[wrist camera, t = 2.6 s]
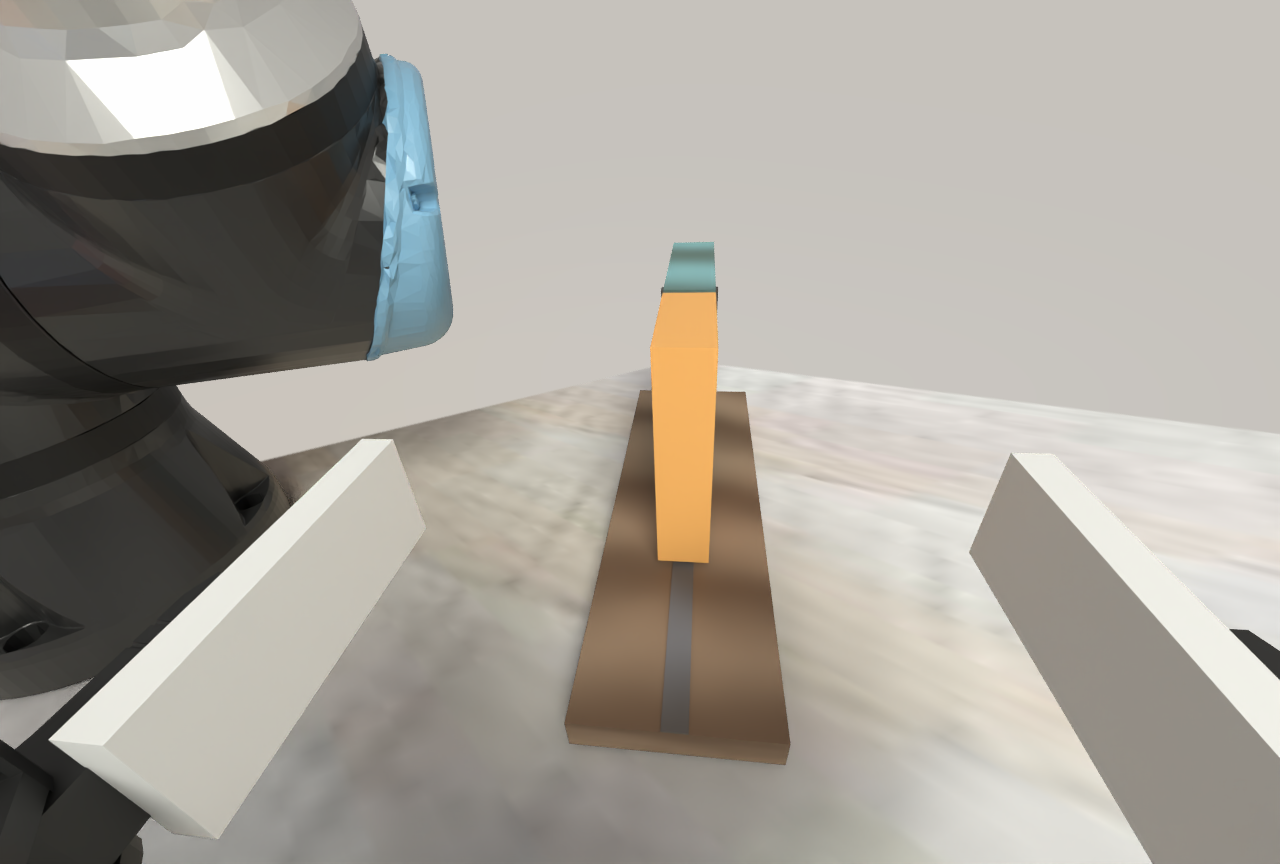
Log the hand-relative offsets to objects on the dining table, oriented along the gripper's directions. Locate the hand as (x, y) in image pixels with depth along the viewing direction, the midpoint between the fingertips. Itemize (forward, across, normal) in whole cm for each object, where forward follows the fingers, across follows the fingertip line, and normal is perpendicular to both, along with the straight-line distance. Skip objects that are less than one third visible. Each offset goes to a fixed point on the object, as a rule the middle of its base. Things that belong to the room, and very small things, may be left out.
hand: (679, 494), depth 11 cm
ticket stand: (+13, 0, -13) cm, 18 cm away
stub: (+11, 0, -11) cm, 15 cm away
